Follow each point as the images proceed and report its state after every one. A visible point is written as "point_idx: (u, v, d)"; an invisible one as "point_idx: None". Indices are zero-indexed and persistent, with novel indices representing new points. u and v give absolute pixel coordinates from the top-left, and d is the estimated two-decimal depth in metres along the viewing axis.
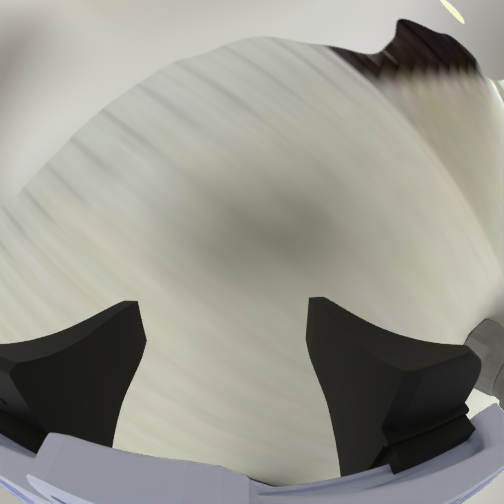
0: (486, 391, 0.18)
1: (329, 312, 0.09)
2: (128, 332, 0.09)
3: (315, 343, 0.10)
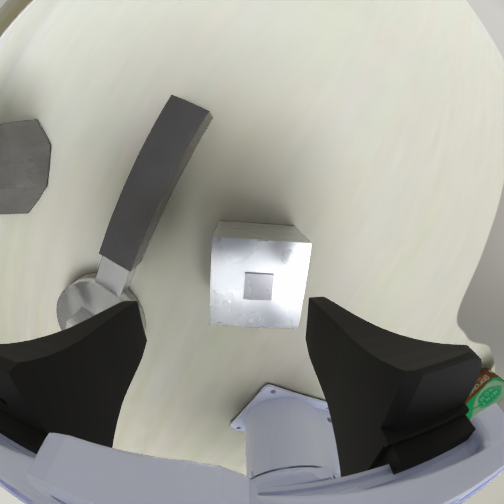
0: None
1: (329, 312, 0.09)
2: (128, 332, 0.09)
3: (315, 343, 0.10)
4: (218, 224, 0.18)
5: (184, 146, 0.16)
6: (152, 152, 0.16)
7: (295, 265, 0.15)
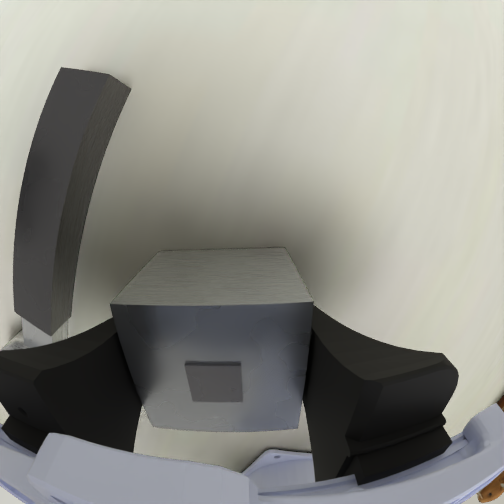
0: None
1: None
2: None
3: None
4: (148, 262, 0.10)
5: (77, 140, 0.08)
6: (39, 160, 0.08)
7: (281, 344, 0.07)
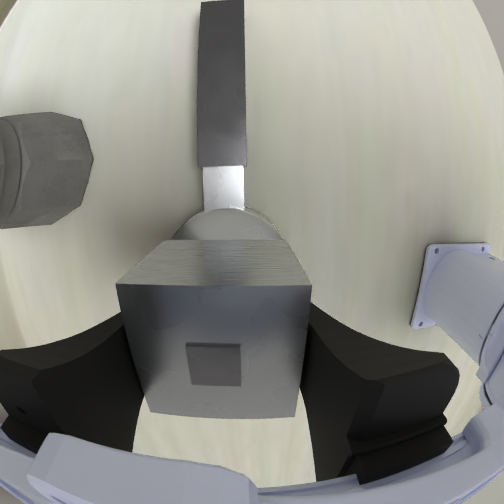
0: (34, 172, 0.11)
1: None
2: None
3: None
4: (153, 249, 0.10)
5: (241, 27, 0.12)
6: (211, 43, 0.13)
7: (280, 327, 0.07)
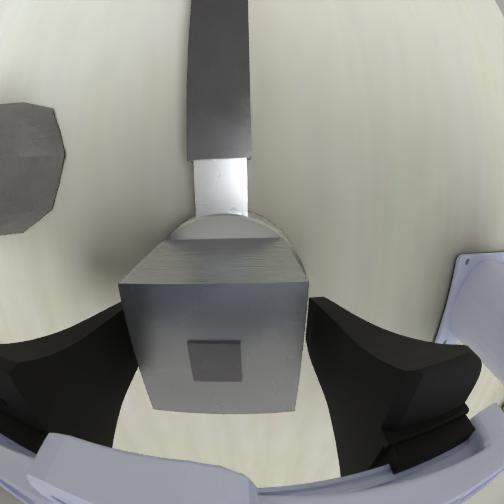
0: None
1: (329, 312, 0.09)
2: (128, 332, 0.09)
3: (315, 343, 0.10)
4: (153, 249, 0.10)
5: None
6: (207, 10, 0.09)
7: (278, 323, 0.08)
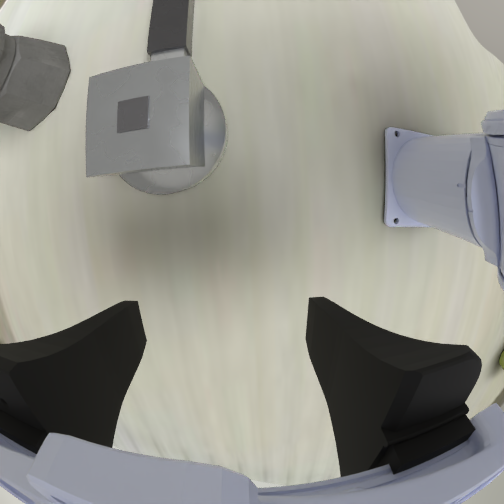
0: (22, 65, 0.10)
1: (329, 312, 0.09)
2: (128, 332, 0.09)
3: (315, 343, 0.10)
4: None
5: None
6: None
7: (172, 80, 0.10)
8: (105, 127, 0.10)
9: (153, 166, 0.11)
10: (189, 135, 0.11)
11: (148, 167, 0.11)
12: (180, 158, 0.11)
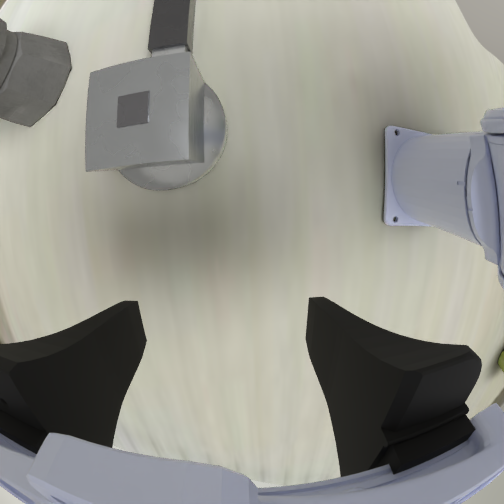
0: (23, 61, 0.10)
1: (329, 312, 0.09)
2: (128, 332, 0.09)
3: (315, 343, 0.10)
4: None
5: None
6: None
7: (172, 76, 0.10)
8: (105, 122, 0.10)
9: (152, 160, 0.11)
10: (188, 130, 0.11)
11: (147, 161, 0.11)
12: (179, 153, 0.11)
